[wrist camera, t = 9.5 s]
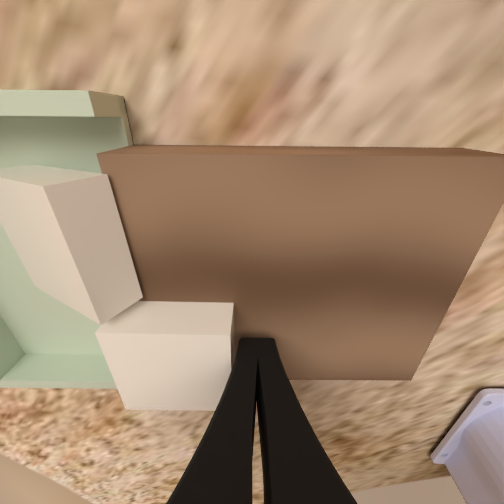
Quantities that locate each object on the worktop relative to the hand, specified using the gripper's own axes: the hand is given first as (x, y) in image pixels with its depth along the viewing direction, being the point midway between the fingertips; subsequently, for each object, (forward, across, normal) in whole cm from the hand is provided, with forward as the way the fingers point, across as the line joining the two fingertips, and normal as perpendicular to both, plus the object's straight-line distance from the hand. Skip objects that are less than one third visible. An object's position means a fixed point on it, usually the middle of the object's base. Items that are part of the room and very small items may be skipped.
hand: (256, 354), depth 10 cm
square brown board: (+3, -1, -2) cm, 4 cm away
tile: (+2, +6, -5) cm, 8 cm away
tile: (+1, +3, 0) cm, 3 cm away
